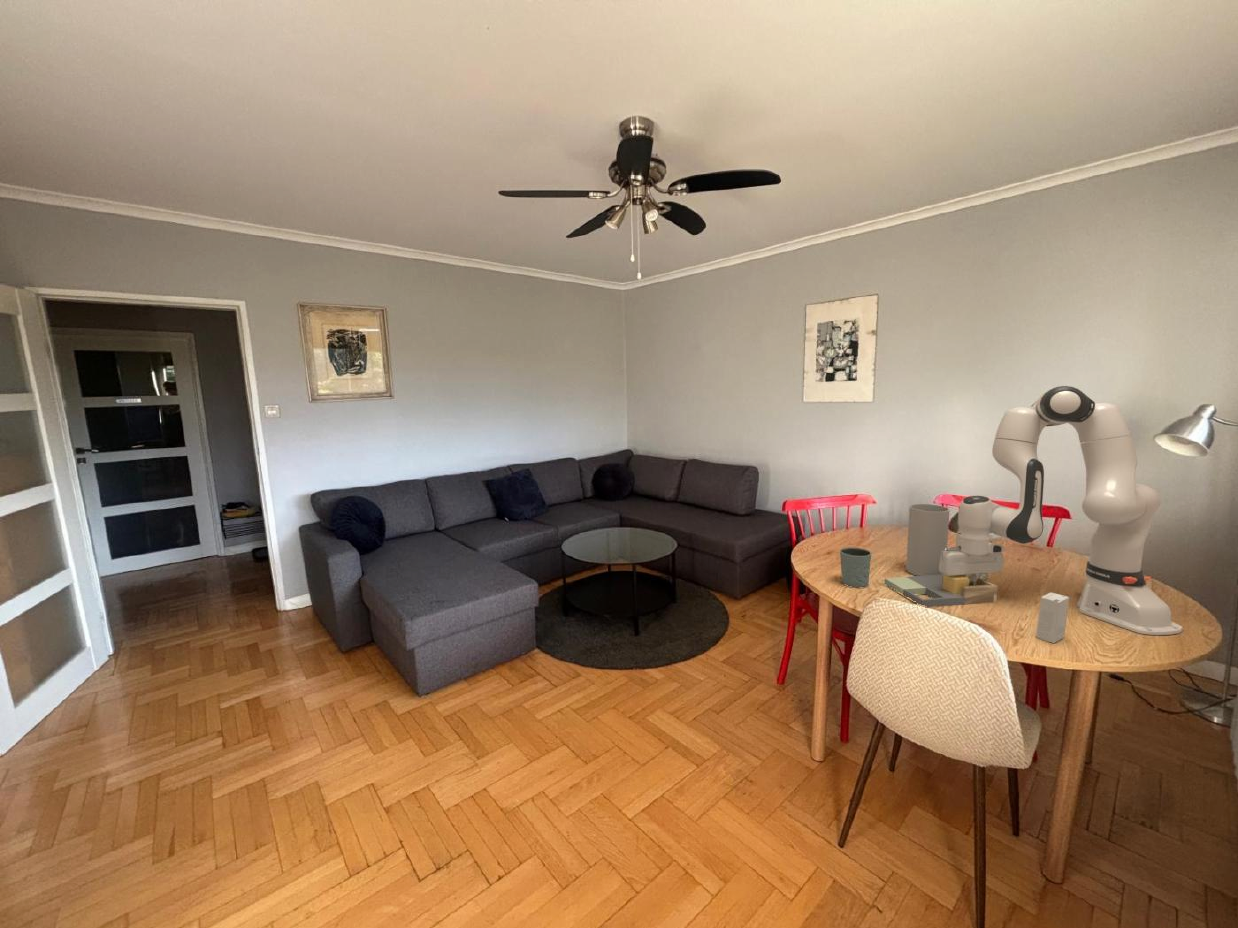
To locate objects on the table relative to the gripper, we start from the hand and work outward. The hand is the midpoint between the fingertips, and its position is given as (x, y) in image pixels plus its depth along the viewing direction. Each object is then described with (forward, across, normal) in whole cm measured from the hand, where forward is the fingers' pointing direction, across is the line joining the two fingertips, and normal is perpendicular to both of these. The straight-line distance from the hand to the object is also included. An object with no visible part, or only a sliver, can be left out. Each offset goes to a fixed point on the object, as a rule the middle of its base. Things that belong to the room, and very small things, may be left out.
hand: (969, 585), depth 163 cm
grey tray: (+4, -8, +4) cm, 9 cm away
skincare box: (+4, 0, -28) cm, 29 cm away
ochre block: (+1, -5, 0) cm, 5 cm away
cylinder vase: (+4, +1, +22) cm, 22 cm away
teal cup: (+4, -30, +16) cm, 34 cm away
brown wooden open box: (+4, 0, 0) cm, 4 cm away
